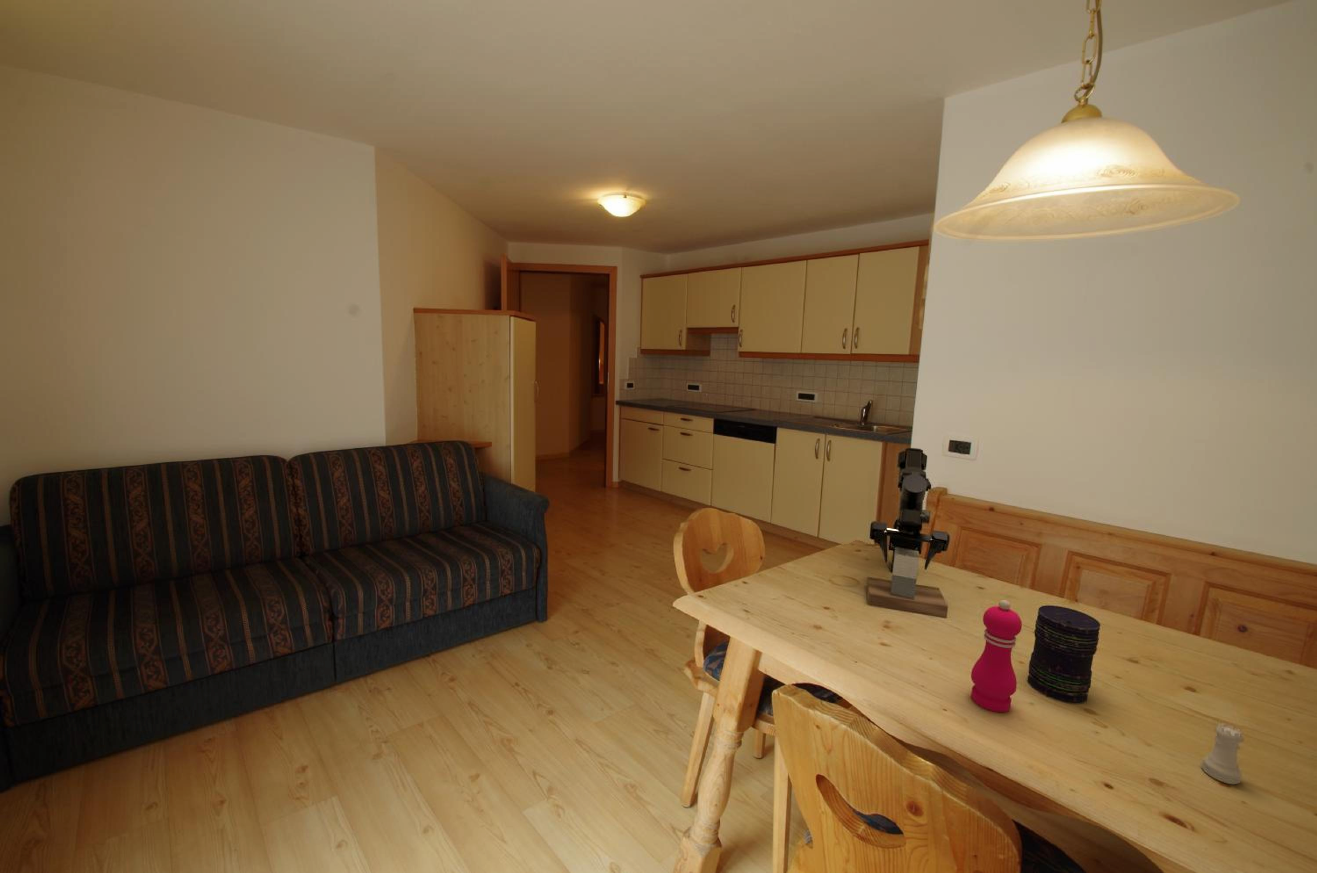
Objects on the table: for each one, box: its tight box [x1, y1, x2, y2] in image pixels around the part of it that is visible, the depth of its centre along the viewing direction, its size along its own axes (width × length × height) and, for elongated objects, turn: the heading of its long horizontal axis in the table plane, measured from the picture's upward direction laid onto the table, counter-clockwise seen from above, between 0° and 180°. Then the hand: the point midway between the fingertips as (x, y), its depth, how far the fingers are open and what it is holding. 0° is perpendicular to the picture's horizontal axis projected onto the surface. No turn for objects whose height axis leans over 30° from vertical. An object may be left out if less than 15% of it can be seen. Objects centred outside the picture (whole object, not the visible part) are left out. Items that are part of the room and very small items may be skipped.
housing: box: [890, 547, 920, 600], centre depth 141 cm, size 6×6×11 cm
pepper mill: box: [970, 599, 1023, 713], centre depth 101 cm, size 7×7×20 cm
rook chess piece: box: [1200, 722, 1245, 785], centre depth 86 cm, size 4×4×8 cm
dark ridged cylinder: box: [1026, 604, 1101, 705], centre depth 107 cm, size 10×10×15 cm
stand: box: [865, 576, 949, 619], centre depth 144 cm, size 12×18×3 cm, turn 73°
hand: (905, 565), depth 140 cm, fingers open, 9 cm apart
